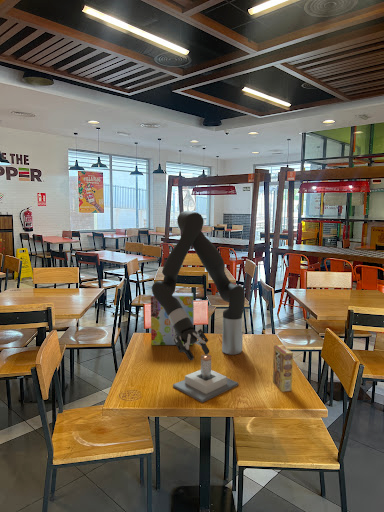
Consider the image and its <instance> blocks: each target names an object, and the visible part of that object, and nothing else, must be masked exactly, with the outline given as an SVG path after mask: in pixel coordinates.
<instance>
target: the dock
mask: <svg viewBox="0 0 384 512" xmlns="http://www.w3.org/2000/svg"><path fill="white" fill-rule="evenodd" d="M238 386H239V382H238V381H235V380H233V379H231V378H228V376H226V375H223V374H221V373H219V372H217V371H215V370H212V369H211V379H209V380H207V381H205V380H203V379H201V369H198V370H197V371H194V372H190V373H188V374H186V375H184V380H181V381H178V382H175V383H173V384H172V387H173V388H174V389H176V390H178V391H180V392H181V393H184V395H187V396H189V397H191V398H193V399H195V400H196V401H198V402H200V403H203V404H204V402H206V401H208V400H209V401H210V400H211V399H212V398H215V397H217V396H219V395H221V394H223V393H226V392H227V391H229V390H232V389H233V388H235V387H238Z"/></svg>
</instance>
